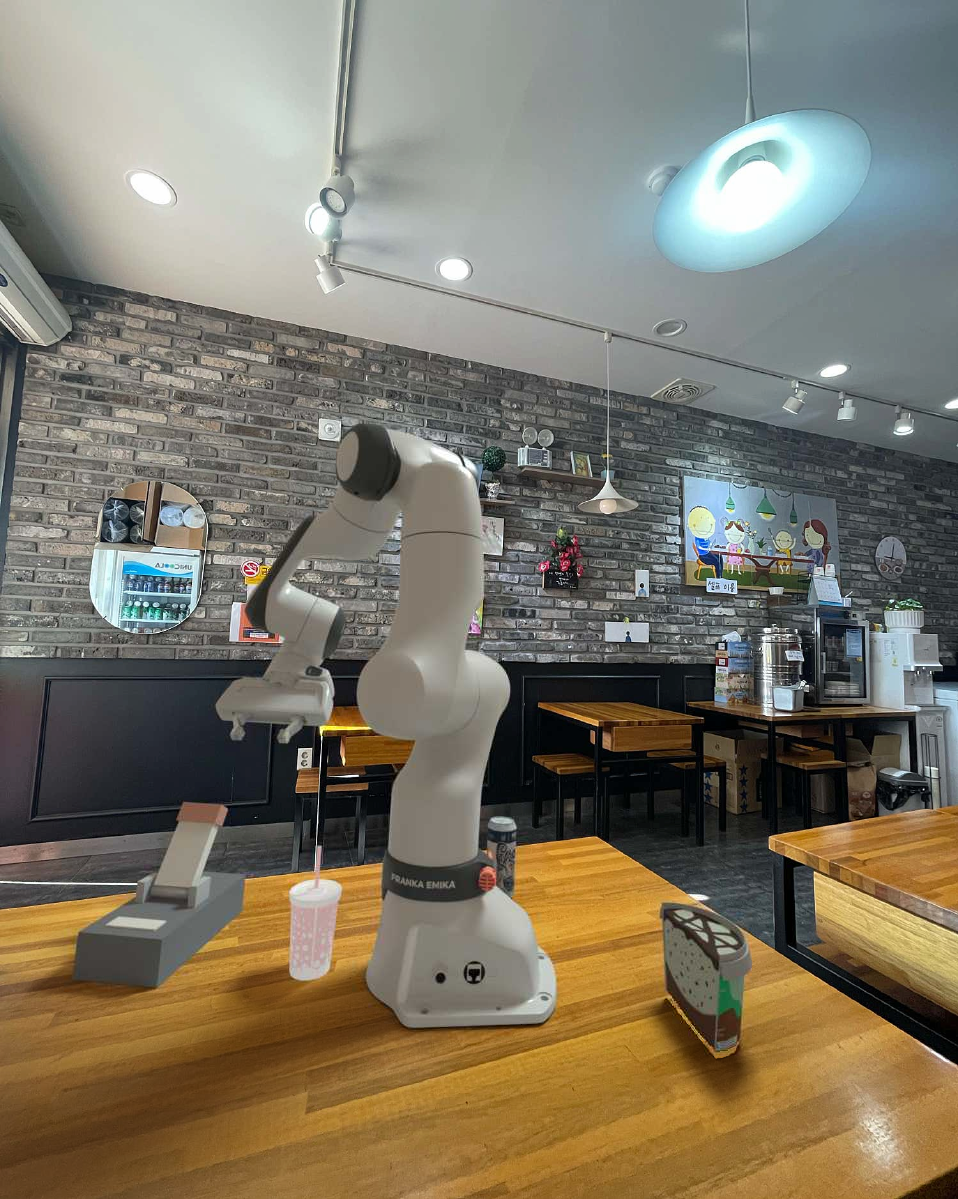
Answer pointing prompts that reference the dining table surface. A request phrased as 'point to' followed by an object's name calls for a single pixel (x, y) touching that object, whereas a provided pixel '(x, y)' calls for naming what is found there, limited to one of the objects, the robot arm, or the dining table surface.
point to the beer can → (503, 851)
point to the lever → (188, 849)
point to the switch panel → (156, 931)
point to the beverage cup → (312, 925)
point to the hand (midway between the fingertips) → (258, 739)
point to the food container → (705, 970)
